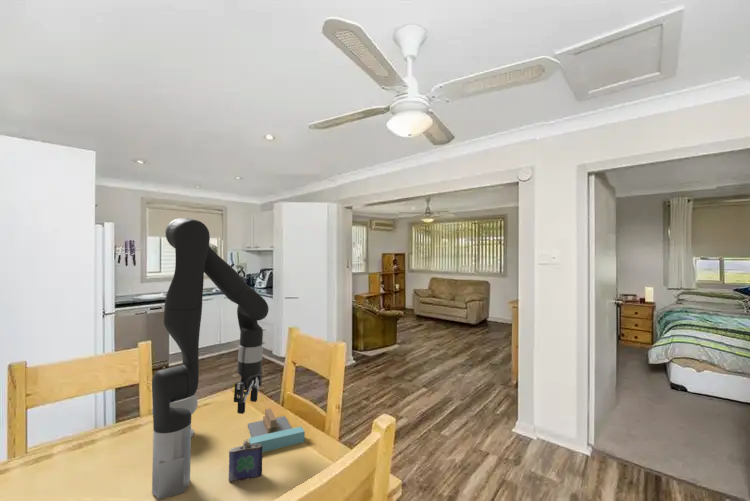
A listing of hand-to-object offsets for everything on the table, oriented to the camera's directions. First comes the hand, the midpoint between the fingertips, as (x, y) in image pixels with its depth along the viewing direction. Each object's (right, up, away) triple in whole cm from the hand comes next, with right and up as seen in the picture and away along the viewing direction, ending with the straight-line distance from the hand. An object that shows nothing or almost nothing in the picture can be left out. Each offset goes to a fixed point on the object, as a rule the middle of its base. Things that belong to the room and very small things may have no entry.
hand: (247, 406), depth 115 cm
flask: (+4, -16, -12) cm, 20 cm away
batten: (+8, -16, +5) cm, 18 cm away
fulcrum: (+3, -15, +15) cm, 21 cm away
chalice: (-29, -15, +9) cm, 34 cm away
